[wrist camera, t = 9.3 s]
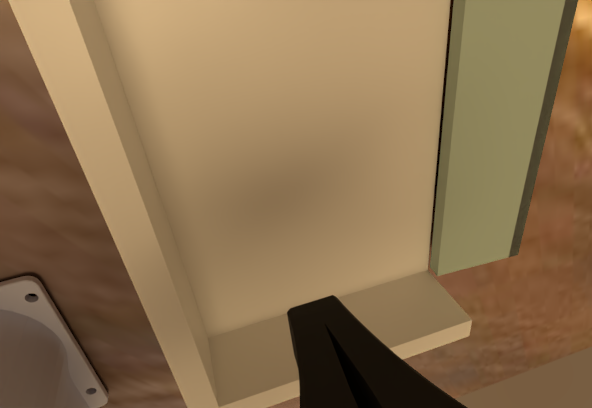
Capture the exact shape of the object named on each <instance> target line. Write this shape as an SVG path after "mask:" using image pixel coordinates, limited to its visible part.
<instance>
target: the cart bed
mask: <svg viewBox="0 0 592 408" xmlns="http://www.w3.org/2000/svg"><path fill="white" fill-rule="evenodd" d="M8 1H9V3H10V5H11V8H12V10H13V12H14V14H15V17H16V19H17V21H18V24H19V26H20V28H21V30H22V33H23V35H24V37H25V39H26V42H27V44H28V46H29V49H30V51H31V53H32V55H33V58H34V60H35V62H36V64H37V67H38V69H39V71H40V74H41V76H42V78H43V80H44V83H45V85H46V87H47V89H48V92H49V94H50V96H51V99H52V101H53V103H54V105H55V108H56V110H57V112H58V114H59V117H60V119H61V121H62V124H63V126H64V128H65V130H66V133H67V135H68V137H69V139H70V142H71V144H72V146H73V149H74V151H75V153H76V155H77V158H78V160H79V162H80V164H81V167H82V169H83V171H84V174H85V176H86V178H87V180H88V183H89V185H90V187H91V189H92V192H93V194H94V196H95V199H96V201H97V203H98V205H99V208H100V210H101V212H102V214H103V217H104V219H105V221H106V224H107V226H108V228H109V230H110V233H111V235H112V237H113V239H114V242H115V244H116V246H117V249H118V251H119V253H120V255H121V258H122V260H123V262H124V264H125V267H126V269H127V271H128V274H129V276H130V278H131V280H132V283H133V285H134V287H135V289H136V292H137V294H138V296H139V299H140V301H141V303H142V305H143V308H144V310H145V312H146V314H147V317H148V319H149V321H150V324H151V326H152V328H153V330H154V333H155V335H156V337H157V340H158V342H159V344H160V346H161V349H162V351H163V353H164V355H165V358H166V360H167V362H168V365H169V367H170V369H171V371H172V374H173V376H174V378H175V380H176V383H177V385H178V387H179V390H180V392H181V394H182V396H183V399H184V401H185V403H186V405H187V408H267V407H269V406H272V405H275V404H278V403H281V402H284V401H286V400H289V399H292V398H295V397H298V396H300V385H299V371H298V366H297V363H296V359H295V356H294V351H293V345H292V340H291V334H290V328H289V322H288V316H287V312H288V310H289V309H290V308H292V307H296V306H299V305H302V304H305V303H308V302H312V301H315V300H318V299H321V298H325V297H328V296H331V295H334V296H335V297H337V298H338V299H339V300H340V301H341V303H342V304H343V305H344V306H345V307H346V308H347V309H348V310H349V311H350V312H351V313H352V314H353V315H354V316H355V317H356V318H357V319H358V320H359V321H360V322H361V323H362V324H363V325H364V326H365V327H366V328H367V329H368V330H369V331H370V332H371V333H372V334H373V335H375V336H376V337H377V338H378V339H379V340H380V341H381V342H382V343H383V344H385V345H386V346H387V347H388V348H389V349H390V350H391V351H393V352H394V353H395V354H396V355H397V356H398V357H400V358H401V359H405V358H408V357H411V356H414V355H417V354H419V353H422V352H425V351H428V350H431V349H434V348H436V347H439V346H442V345H445V344H448V343H451V342H453V341H456V340H459V339H462V338H465V337H468V336H469V335H470V329H471V324H472V319H471V318H470V317H469V316H468V315H467V314H466V312H465V311H464V310H463V309H462V308H461V307H460V306H459V305H458V303H457V302H456V301H455V300H454V299H453V298H452V297H451V296H450V294H449V293H448V292H447V291H446V290H445V289H444V288H443V287H442V285H441V284H440V283H439V282H438V281H437V280H436V279H435V278H434V276H433V275H432V274H431V273H430V272H429V271H428V260H429V248H430V237H431V225H432V213H433V201H434V190H435V178H436V166H437V154H438V143H439V131H440V119H441V107H442V95H443V84H444V72H445V60H446V48H447V37H448V25H449V13H450V1H451V0H8Z"/></svg>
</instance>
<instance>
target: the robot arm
mask: <svg viewBox="0 0 592 408" xmlns="http://www.w3.org/2000/svg"><path fill="white" fill-rule="evenodd" d="M30 293H33V294H36V295H37V296H29V295H28V294H30ZM287 316H288V322H289V328H290V334H291V340H292V345H293V351H294V356H295V359H296V363H297V366H298V371H299V385H300V408H467V407H466V406H464V405H462V404H461V403H460V402H458V401H457V400H455V399H454V398H452V397H451V396H449V395H448V394H447V393H445V392H444V391H442V390H441V389H439V388H438V387H437V386H435V385H434V384H433V383H431V382H430V381H429V380H427V379H426V378H425V377H423V376H422V375H421V374H419V373H418V372H417V371H416V370H414V369H413V368H412V367H411V366H409V365H408V364H407V363H406V362H404V361H403V360H402V359H401V358H400V357H398V356H397V355H396V354H395V353H394V352H393V351H391V350H390V349H389V348H388V347H387V346H386V345H385V344H383V343H382V342H381V341H380V340H379V339H378V338H377V337H376V336H375V335H373V334H372V333H371V332H370V331H369V330H368V329H367V328H366V327H365V326H364V325H363V324H362V323H361V322H360V321H359V320H358V319H357V318H356V317H355V316H354V315H353V314H352V313H351V312H350V311H349V310H348V309H347V308H346V307H345V306H344V305H343V304H342V303H341V301H340V300H339V299H338V298H337V297H335V296H334V295H331V296H328V297H325V298H321V299H318V300H315V301H312V302H308V303H305V304H302V305H299V306H296V307H292V308H290V309H289V310H288V312H287ZM107 402H108V393H107V391H106V389H105V388H104V386H103V384H102V383H101V381H100V379H99V378H98V376H97V375H96V373H95V371H94V370H93V368H92V366H91V365H90V363H89V361H88V360H87V358H86V356H85V355H84V353H83V351H82V350H81V348H80V346H79V345H78V343H77V341H76V340H75V338H74V336H73V335H72V333H71V331H70V330H69V328H68V326H67V325H66V323H65V321H64V320H63V318H62V316H61V315H60V313H59V312H58V310H57V308H56V307H55V305H54V303H53V302H52V300H51V298H50V297H49V295H48V293H47V292H46V290H45V288H44V287H43V285H42V283H41V282H40V281H39V279H38V278H35V277H33V276H22V277H18V278H14V279H11V280H7V281H3V282H0V408H99V407H102V406H104V405H105V404H106V403H107Z"/></svg>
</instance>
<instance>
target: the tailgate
mask: <svg viewBox="0 0 592 408" xmlns="http://www.w3.org/2000/svg"><path fill="white" fill-rule="evenodd" d="M577 2H578V0H454V3H453V14H452V25H451V36H450V48H449V59H448V70H447V82H446V93H445V104H444V115H443V127H442V138H441V149H440V161H439V172H438V183H437V194H436V206H435V217H434V228H433V239H432V251H431V262H430V267H431V269H432V270H433V271H434V272H435V274H436V275H437V276H439V275H443V274H447V273H451V272H454V271H458V270H462V269H466V268H470V267H473V266H477V265H481V264H485V263H489V262H492V261H496V260H500V259H504V258H508V257H511V256H515V255H518V252H519V248H520V244H521V240H522V235H523V231H524V227H525V223H526V218H527V214H528V210H529V206H530V202H531V197H532V193H533V189H534V185H535V180H536V176H537V172H538V168H539V163H540V159H541V155H542V151H543V146H544V142H545V138H546V134H547V130H548V125H549V121H550V117H551V113H552V108H553V104H554V100H555V96H556V91H557V87H558V83H559V79H560V74H561V70H562V66H563V62H564V58H565V53H566V49H567V45H568V41H569V36H570V32H571V28H572V24H573V19H574V15H575V11H576V7H577Z"/></svg>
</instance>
